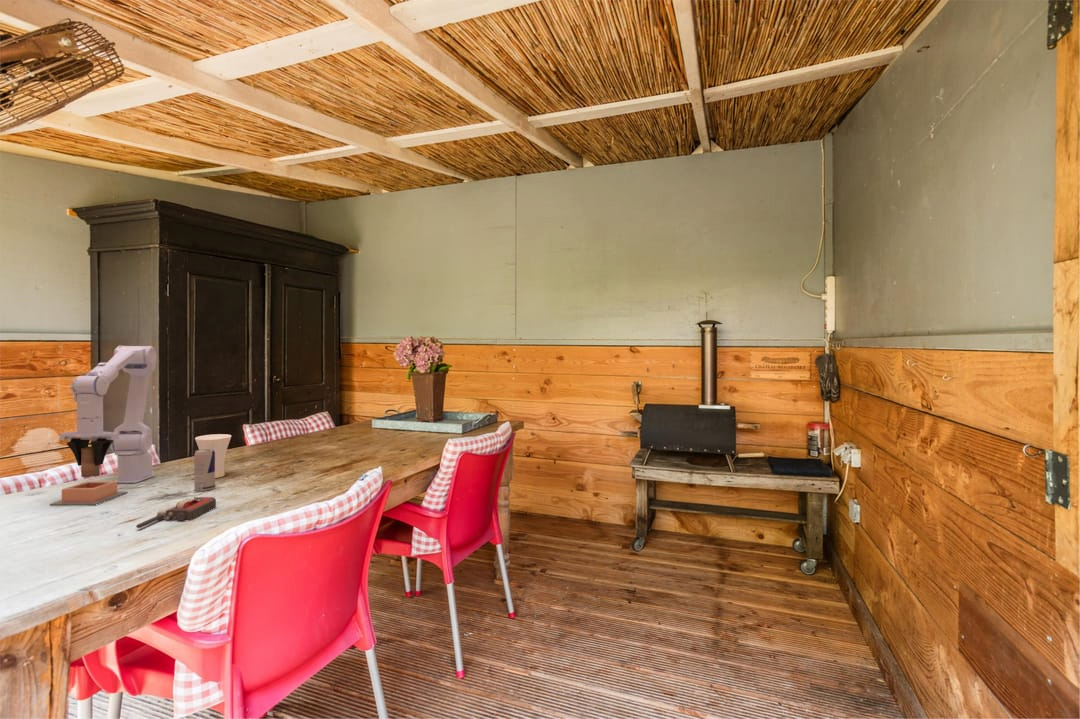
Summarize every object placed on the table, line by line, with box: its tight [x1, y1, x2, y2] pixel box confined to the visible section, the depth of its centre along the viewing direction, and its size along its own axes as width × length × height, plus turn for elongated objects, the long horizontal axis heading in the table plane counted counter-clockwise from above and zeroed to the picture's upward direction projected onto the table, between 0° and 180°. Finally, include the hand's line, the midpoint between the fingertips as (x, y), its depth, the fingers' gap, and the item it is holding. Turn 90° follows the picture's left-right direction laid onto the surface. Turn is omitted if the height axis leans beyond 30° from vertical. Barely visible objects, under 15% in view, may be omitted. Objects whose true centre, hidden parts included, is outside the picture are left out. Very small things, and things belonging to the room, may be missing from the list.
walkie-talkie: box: [136, 496, 217, 529], centre depth 135 cm, size 9×4×20 cm
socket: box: [49, 480, 128, 506], centre depth 149 cm, size 12×12×4 cm
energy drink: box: [193, 449, 216, 492], centre depth 161 cm, size 5×5×12 cm
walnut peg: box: [80, 445, 101, 478], centre depth 149 cm, size 4×4×8 cm
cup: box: [194, 433, 232, 479], centre depth 176 cm, size 10×10×14 cm
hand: (90, 464), depth 149 cm, fingers closed on walnut peg, 4 cm apart
